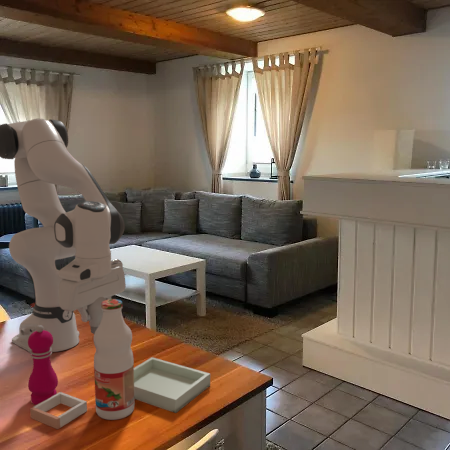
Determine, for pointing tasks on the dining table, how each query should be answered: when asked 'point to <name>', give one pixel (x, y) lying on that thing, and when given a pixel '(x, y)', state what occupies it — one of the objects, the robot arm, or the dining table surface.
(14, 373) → the dining table surface
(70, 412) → the socket collar
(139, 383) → the tray
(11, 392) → the dining table surface
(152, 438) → the dining table surface
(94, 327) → the lightbulb
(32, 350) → the pepper mill
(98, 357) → the white plastic bottle
